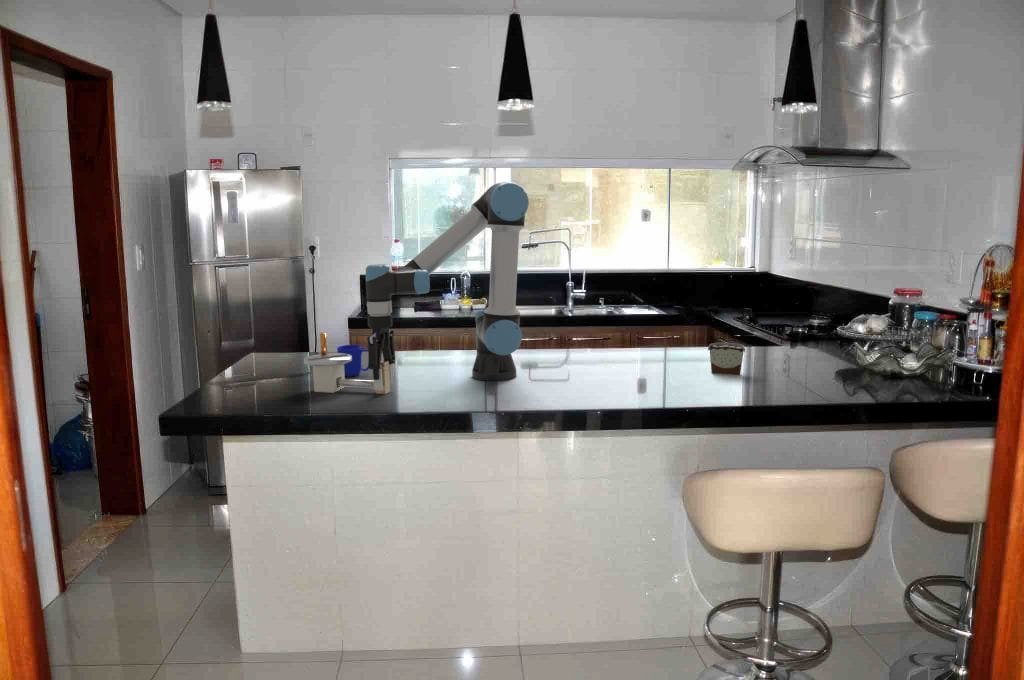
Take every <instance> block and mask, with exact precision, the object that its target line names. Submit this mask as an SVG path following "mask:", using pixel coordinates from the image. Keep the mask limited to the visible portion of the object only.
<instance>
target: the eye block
mask: <svg viewBox="0 0 1024 680" xmlns="http://www.w3.org/2000/svg"><path fill="white" fill-rule="evenodd" d="M312 374H313V392H315V393H316V392H317V393H331V394H333V393H336V392H339V391H341V390H342V388H343V389H345V388H344V386H337V384H336V379H346V376H345V373H344V364H341V365H334V366H312ZM340 389H341V390H340Z"/></svg>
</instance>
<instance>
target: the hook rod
mask: <svg viewBox="0 0 1024 680" xmlns="http://www.w3.org/2000/svg"><path fill="white" fill-rule="evenodd" d="M380 369H382V384H383V389H382V390H375V392H376V393H375V394H379V395H386V394H388V393H390V392H391V385H390V381H389V361H384V360H381V364H380ZM336 384H337V386H344V387H345V388H346V387H348V388H364V389H365V388H366V389H374V383H373V380H369V379H367V380H366V379H353V378H352V379H351V378H350V379H349V378H345V379H336Z"/></svg>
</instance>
